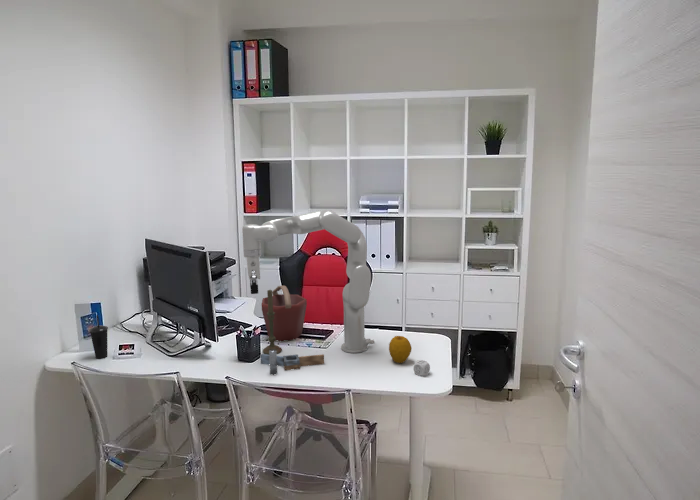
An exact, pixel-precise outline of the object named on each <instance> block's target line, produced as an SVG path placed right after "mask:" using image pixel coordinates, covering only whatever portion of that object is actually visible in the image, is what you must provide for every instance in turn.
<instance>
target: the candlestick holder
mask: <svg viewBox="0 0 700 500" xmlns="http://www.w3.org/2000/svg"><path fill="white" fill-rule="evenodd" d="M272 291H273V290H272V289H268V290H267V291H266V292H267V293H266V294H267V297H268V313H267V315H268V317H267V319H268V320H270V321H269V327H270V337H268V338H267V340H268V342H269V345H268V346H266V347H264V348H263V349H262V354H267V355H269V350H273V349H274V350H276V354H277V355H278V354H281V353H282V352H283V348H282V347H280V346H279V345H276V344H275V342H276V340H275V339H276V338H275V337H274V335H273V319H274V314H275V312H273V300H272V296H273V294H272Z"/></svg>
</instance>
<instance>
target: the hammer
mask: <svg viewBox="0 0 700 500" xmlns="http://www.w3.org/2000/svg"><path fill="white" fill-rule="evenodd" d="M259 357H260V364H261V365H269V364H270V360H269V355H267V354H264V353H261V354H260V356H259ZM277 365H278V366H280V367H283V368H284V371H292V370H291V369H294V370H300V369H301V367H307V366H308V365H309V366H317V365H325V354H323V353H322V354H313V355H305V356H304V355H302V356H299V354H290V355H289V354H288V355H277ZM278 366H277V367H278Z"/></svg>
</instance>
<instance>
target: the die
mask: <svg viewBox="0 0 700 500" xmlns="http://www.w3.org/2000/svg"><path fill="white" fill-rule="evenodd" d="M430 371H431V365H430V363H429V362H428V361H427V360H425V359H419V360H417V361H415V362H414V364H413V372H414V374H415V375H417V376H418V377H425V376H428V374H429V373H430Z"/></svg>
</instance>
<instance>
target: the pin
mask: <svg viewBox="0 0 700 500" xmlns="http://www.w3.org/2000/svg"><path fill="white" fill-rule="evenodd" d="M277 356H278V354H276V350H274V349H273V350H269V360H270V365H269V374H270V375H271V374H273V375H272V376H275V375H274V374H276V375H278V366H277Z"/></svg>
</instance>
